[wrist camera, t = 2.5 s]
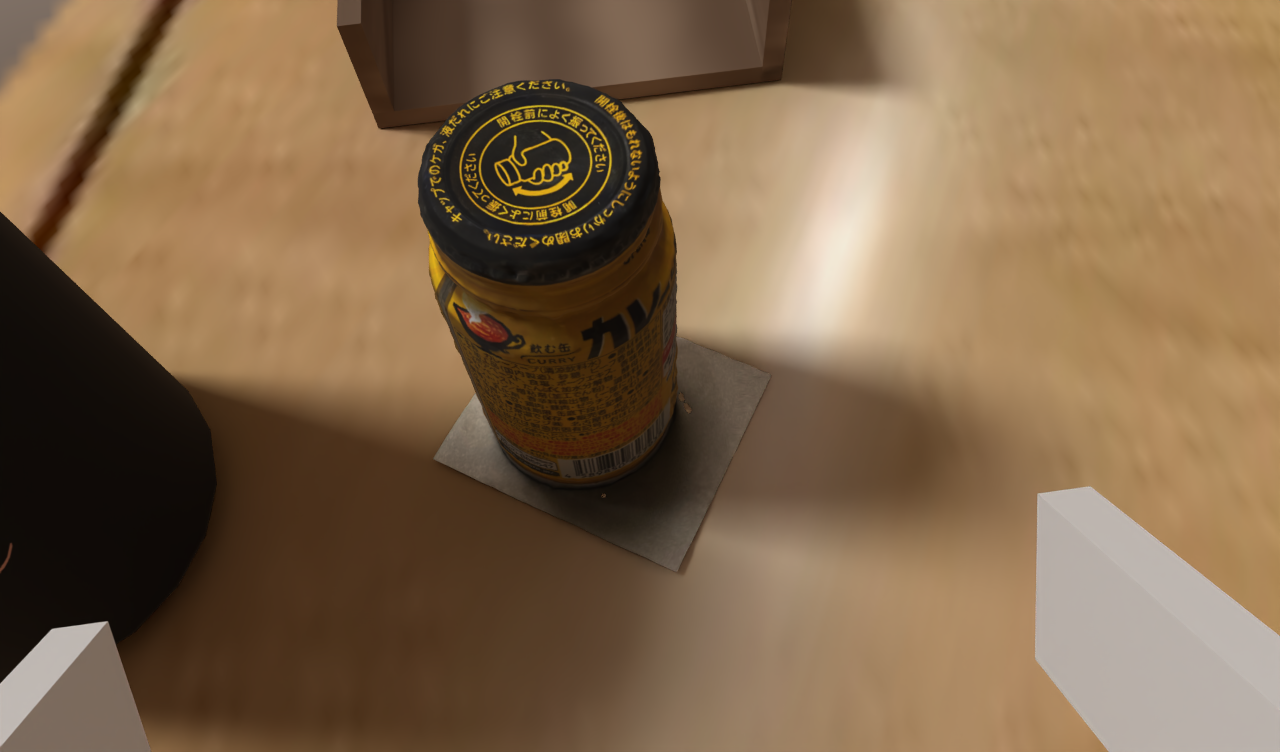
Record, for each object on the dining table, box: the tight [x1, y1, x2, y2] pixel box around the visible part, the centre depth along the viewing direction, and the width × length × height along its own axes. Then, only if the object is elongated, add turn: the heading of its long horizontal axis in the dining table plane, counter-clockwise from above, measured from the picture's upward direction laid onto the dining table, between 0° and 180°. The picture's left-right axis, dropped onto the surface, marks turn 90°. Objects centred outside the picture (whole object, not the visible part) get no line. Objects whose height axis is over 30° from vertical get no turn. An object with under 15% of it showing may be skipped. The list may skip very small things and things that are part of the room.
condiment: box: [418, 79, 771, 572], centre depth 25 cm, size 7×8×12 cm
